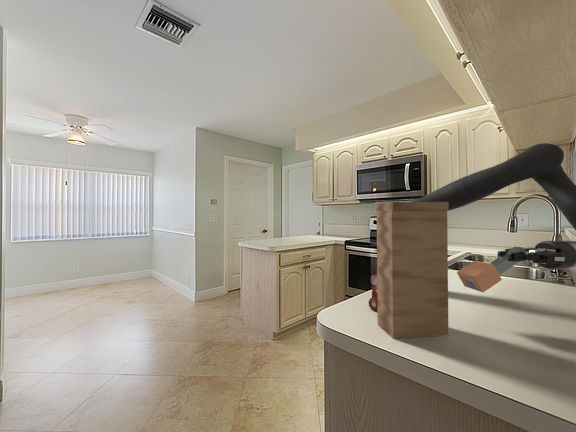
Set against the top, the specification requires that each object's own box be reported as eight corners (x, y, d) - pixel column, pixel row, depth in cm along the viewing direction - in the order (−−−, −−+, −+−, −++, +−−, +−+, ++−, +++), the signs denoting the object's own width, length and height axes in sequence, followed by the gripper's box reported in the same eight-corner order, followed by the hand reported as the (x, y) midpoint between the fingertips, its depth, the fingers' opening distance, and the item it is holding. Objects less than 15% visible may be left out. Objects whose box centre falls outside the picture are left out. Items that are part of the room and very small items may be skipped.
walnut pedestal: (376, 323, 69) (375, 203, 69) (426, 321, 71) (424, 203, 71) (394, 339, 60) (392, 202, 61) (449, 336, 62) (448, 201, 62)
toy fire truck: (399, 321, 71) (399, 283, 71) (364, 308, 82) (364, 274, 82) (414, 316, 75) (414, 280, 75) (379, 304, 85) (379, 272, 85)
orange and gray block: (464, 286, 70) (456, 272, 70) (512, 253, 72) (505, 239, 72) (483, 292, 64) (474, 277, 64) (535, 256, 66) (527, 241, 66)
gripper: (534, 238, 77) (481, 239, 75) (594, 243, 63) (531, 244, 62) (534, 263, 77) (481, 265, 75) (595, 273, 63) (531, 276, 62)
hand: (504, 256), depth 68 cm, fingers closed on orange and gray block, 2 cm apart
